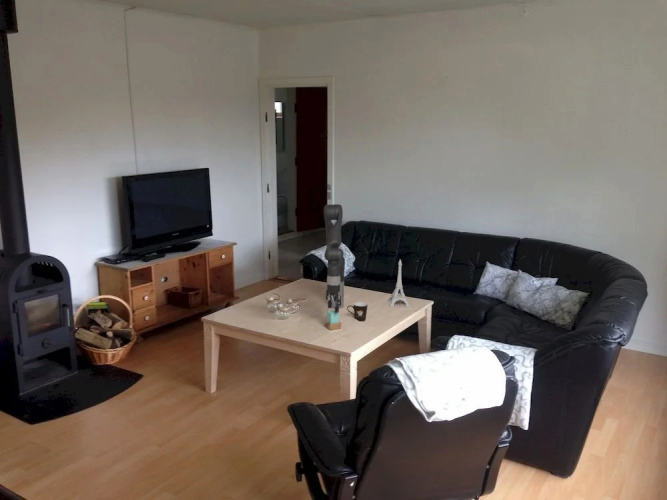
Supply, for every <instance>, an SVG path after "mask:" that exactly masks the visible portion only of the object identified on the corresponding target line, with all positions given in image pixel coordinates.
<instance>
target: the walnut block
mask: <svg viewBox="0 0 667 500" xmlns="http://www.w3.org/2000/svg"><path fill="white" fill-rule="evenodd" d="M324 327H325V328H326V329H328V330H329V331H332V332H336V331H335V330H338V331H342V330H341V329H342V322H341V321H339V323H333V324H331V323H329V322H328V321H327V320H324ZM325 328H324V329H325ZM328 330H327V331H328ZM329 331H328V332H329Z"/></svg>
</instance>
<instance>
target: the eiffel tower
mask: <svg viewBox="0 0 667 500" xmlns="http://www.w3.org/2000/svg"><path fill="white" fill-rule="evenodd" d="M402 263H403V262H402V259H399V261H398V272H397V278H396V279H397V281H396V284H395V289H394V290H393V292H392V293H391V295H390V297H388V299H387V300H386V302H388V303H390V304H389V305H388V306H389V307H390V308H394V307H395V303H396V302H397V301H399V300H400V301H402V302H403V303H404V304H405V307H407V308H409V307H411V305H410V304H409V301H408V300H407V298H406V297H407V295H405V293H404V290H403V283H402V266H403V264H402Z"/></svg>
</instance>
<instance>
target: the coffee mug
mask: <svg viewBox="0 0 667 500" xmlns="http://www.w3.org/2000/svg"><path fill="white" fill-rule="evenodd" d="M368 305H369V304H368V303H367V302H364V301H356V302H353V305H348V306H347V311H348V312H349V313H350V314H351V315H352V316H354V319H355V320H356V321H357V322H365V321H366V317H367V313H368ZM349 307H351V308H352V309H353V312H352V311H350V310H349Z"/></svg>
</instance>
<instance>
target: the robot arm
mask: <svg viewBox="0 0 667 500" xmlns="http://www.w3.org/2000/svg"><path fill="white" fill-rule="evenodd" d="M343 212H344V211H343V206H342V205H341V204H336V203H335V204H325V205H324V207H323V217H324V225H325V237H326V238H325V239H326V248H325V251H324V258H325V260H326V261H327V277H326V290H325V300H326V301H327V308H328V309H334V310H335V313H338V312H339V313H340V309H342V308H343V307H344V306H345V305H344V304H345V303H344V302H345V301H344V298H345V294H344V293H345V266H346V258H345V257H344V255H345V254H344V250H343V249H342V248H340V247H341V246H342V245H341V244H342V233H341V230H342V224H343V223H342V222H343V215H344V213H343ZM332 221H335V223H334V224H333V222H332Z"/></svg>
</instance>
